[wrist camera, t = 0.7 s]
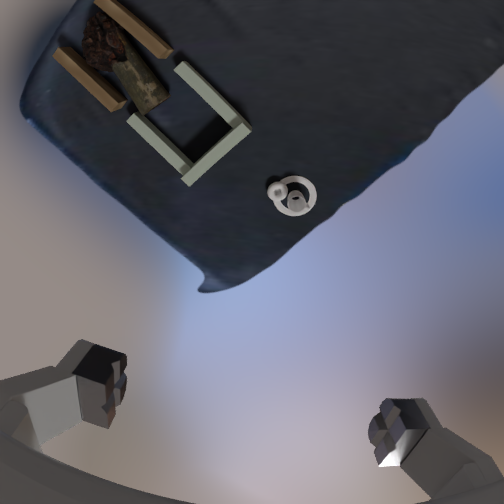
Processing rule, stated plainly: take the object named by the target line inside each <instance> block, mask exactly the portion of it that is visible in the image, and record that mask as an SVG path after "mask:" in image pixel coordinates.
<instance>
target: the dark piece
mask: <svg viewBox="0 0 504 504" xmlns="http://www.w3.org/2000/svg"><path fill="white" fill-rule="evenodd" d="M83 33H84V38H83V40H82V48H83V57H86V63H87V64H89V65H90V66H92V67H95V68H96V69H99V70H101V71H108V72H113V71H114V72H115V74H116V75H117V77H118V78H119V80H120V81H121V83H122V85H123V86H124V88H125V89H126V91H127V92H128V94H129V95H130V97H131V99H132V100H133V102H134V103H135V105H136V107H137V108H138V110H139V111H140V113H141V114H142V116H144V115H145V114H146V113H148V112H149V111H151V110H152V109H154V108H155V107H157V106H158V105H160V104H161V103H162V102H164V101H165V100H167V99H168V98H169V97H170V96H171V95H170V94H169V93H168V92H167V90H166V89H165V88H164V87H163V85H162V84H161V83H160V81H159V80H158V79H157V77H156V76H155V75H154V74H153V72H152V71H151V70H150V68H149V67H148V66H147V65H146V63H145V62H144V61H143V59H142V58H141V56H140V55H139V54H138V52H137V51H136V50H135V48H134V47H133V46H132V44H131V43H130V42H129V40H128V39H127V37H126V36H125V34H124V27H122V26H121V25H120V24H119V23H118V22H116V21H115V20H114V19H113V18H111V17H110V16H109V15H108V14H107V13H106V12H104V13H101V12H98V13H97V14H96V15H95V16H93V17H92V18H89V21H87V27H86V28H85V30H84V32H83Z"/></svg>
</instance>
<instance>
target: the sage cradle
mask: <svg viewBox="0 0 504 504" xmlns="http://www.w3.org/2000/svg"><path fill="white" fill-rule="evenodd" d="M174 71H175V72H176V73H177V74H178V75H180V76H181V77H182V78H183V79H184V80H185V81H186V82H187V83H188V84H189V85H190V86H191V87H192V88H193V89H194V90H195V91H196V92H197V93H198V94H199V95H200V96H201V97H202V98H203V99H204V100H205V101H206V102H207V103H208V104H209V105H210V106H211V107H212V108H213V109H214V110H215V111H216V112H217V113H218V114H219V115H220V116H221V117H222V118H223V119H224V120H225V121H226V122H227V123H228V124H229V125H230V126H231V127H232V128H233V129H231V130H230V131H229V132H228V133H227V134H226V135H225V136H223V137H222V138H221V139H220V140H219V141H218V142H217V143H216V144H215V145H214V146H212V147H211V148H210V149H209V150H208V151H207V152H206V153H205V154H204V155H203V156H202V157H201V158H199V159H198V160H197V161H196V162H195V163H193V162H191V161H190V160H189V159H188V158H187V157H186V156H185V155H184V154H183V153H182V152H181V151H180V150H179V149H178V148H177V147H176V146H175V145H174V144H173V143H172V142H171V141H170V140H169V139H168V138H167V137H166V136H165V135H164V134H163V133H162V132H160V131H159V130H158V129H157V128H156V127H155V126H154V125H153V124H152V123H151V122H150V121H149V120H148V119H147V118H146V117H145V116H142V114H141V113H140V111H137V112H135V113H133V115H132V116H131V117H130V118H129V119H128V120H127V123H128V124H129V125H131V126H132V127H133V128H134V129H135V130H136V131H137V132H138V133H139V134H140V135H141V136H142V137H143V138H144V139H145V140H146V141H147V142H148V143H149V144H150V145H151V146H153V147H154V148H155V149H156V150H157V151H158V152H159V153H160V154H161V155H162V156H163V157H164V158H165V159H166V160H167V161H168V162H169V163H170V164H171V165H172V166H173V167H174V168H175V169H176V170H178V171H179V172H180V173H181V174H182V175H183V176H182V178H181V179H182V180H183V181H184V182H185V183H186V184H187V185H188V186H189V187H190V186H191V185H192V184H193V183H194V182H195V181H196V180H197V179H198V178H199V177H200V176H201V175H203V174H204V173H205V172H206V171H207V170H208V169H209V168H210V167H211V166H212V165H214V164H215V163H216V162H217V161H218V160H219V159H220V158H221V157H223V156H224V155H225V154H226V153H227V152H228V151H229V150H230V149H232V148H233V147H234V146H235V145H236V144H237V143H239V142H240V141H241V140H242V139H243V138H244V137H246V136H247V135H248V134H249V133H250V132H251V130H252V126H251V125H250V124H249V123H248V122H247V121H246V120H245V119H244V118H243V117H242V116H241V115H240V114H239V113H238V112H237V111H236V110H235V109H234V108H233V107H232V106H231V105H230V104H229V103H228V102H227V101H226V100H225V99H224V98H223V97H222V96H221V95H220V94H219V93H218V92H217V91H216V90H215V89H214V88H213V87H212V86H211V85H210V84H209V83H208V82H207V81H206V80H205V79H204V78H203V77H202V76H201V75H200V74H199V73H198V72H197V71H196V70H195V69H194V68H193V67H192V66H191V65H190V64H189V63H187V62H186V61H182V62H181V63H180V64H179V65H178V66H177V67H176V68H175V69H174Z"/></svg>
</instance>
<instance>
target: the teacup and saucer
mask: <svg viewBox="0 0 504 504" xmlns="http://www.w3.org/2000/svg"><path fill="white" fill-rule="evenodd" d="M291 182H299V183H302V184H304V185H305V186H306V187H307V188H308V190H309V193H310V199H309V201H308V203H306V202H305V199H304V197H303V195H302V193H301V192H299V191H297V190H294V191H291V192H290V193H289V195H288V208H289V209H288V208H286V207H284V206H283V205H282V203H281V201H280V200H283V199H284V198H285V197H286V196H287V194H288V188H287V186H286V184H288V183H291ZM280 191H281V192H280ZM267 194H268V196H269V198H270V199H272V200H273V202H274V204H275V206H276V208H277V209H278V210H279V211H280V212H282V213H284V214H286V215H289V216H299V215H302V214H305V213H307V212H308V211H309V210H310V209H311V208H312V207H313V206H314V204H315V201H316V196H317V195H316V189H315V187H314V185H313V184H312V183H311V182H310V181H309V180H308V179H306V178H304V177H301V176H289V177H286V178H284V179H282V180H281V181H280V182H274V183H272V184H271V185H270V186H269V187H268V190H267ZM295 196H299V199H297V200H293V199H292V197H295ZM345 204H346V203H345ZM341 207H342V206H341Z"/></svg>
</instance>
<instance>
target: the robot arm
mask: <svg viewBox="0 0 504 504" xmlns="http://www.w3.org/2000/svg"><path fill="white" fill-rule="evenodd" d="M126 366H127V356H126V354H124V353H121V352H117V351H115V350H112V349H109V348H106V347H103V346H100V345H97V344H94V343H91V342H88V341H85V340H83V339H81V340H78V341H77V342H76V344H75V345H74V346H73V347H72V348H71V349H70V351H69V352H68V353H67V354H66V355H65V356H64V358H63V359H62V360H61V361H60V363H59V364H58V365H57V366H56V367H53V366H49V367H45V368H42V369H39V370H35V371H32V372H29V373H25V374H21V375H18V376H14V377H11V378H8V379H4V380H0V504H194V503H189V502H184V501H179V500H175V499H170V498H166V497H161V496H158V495H154V494H150V493H146V492H142V491H139V490H136V489H132V488H129V487H126V486H123V485H120V484H117V483H114V482H111V481H108V480H105V479H102V478H99V477H97V476H94V475H91V474H89V473H86V472H84V471H81V470H79V469H76V468H74V467H71V466H69V465H67V464H64V463H62V462H60V461H58V460H56V459H54V458H51V457H49V456H47V455H45V454H43V452H42V449H41V447H40V445H41V444H43V443H45V442H46V441H49V440H50V439H52V438H54V437H56V436H58V435H59V434H61V433H63V432H65V431H66V430H68V429H70V428H72V427H74V426H75V425H77V424H79V423H81V422H82V420H83V421H86V422H89V423H92V424H95V425H98V426H101V427H104V428H107V429H109V427H110V425H111V423H112V420H113V418H114V417H115V414H116V413H115V412H116V411H115V407H116V406H118V405H120V404H121V402H122V400H123V397H124V394H125V391H126V384H127V376H126V374H125V373H124V370H125V368H126ZM379 408H380V413H378V414H377V415H376V416H374V417H373V419H372V420H371V422H370V424H369V429H368V436H369V440H370V443H372V444H373V445H374V446H375V447H376V448H375V451H374V454H375V457H376V460H377V462H378V465H379V466H396V465H397V466H398V465H400V467H401V468H402V469H403V470H404V471H405V472H406V473H407V474H408V475H409V476H410V477H411V478H412V479H413V480H414V481H415V482H416V483H417V484H418V485H419V486H420V487H421V488H422V489H423V490H424V491H425V492H426V493H427V494H428V495H429V496H430V497H431V499H430V500H429V501H426V502H421V503H417V504H504V477H503V475H502V474H501V472H500V470H499V469H498V467H497V465H496V464H495V462H494V460H493V459H492V457H490V456H489V455H487V454H486V453H484V452H483V451H481V450H480V449H478V448H476V447H475V446H473V445H472V444H470V443H468V442H467V441H466V440H464V439H463V438H461V437H459V436H458V435H456V434H455V433H453V432H452V431H450V430H449V429H447V428H443V427H442V425H441V424H440V422H439V421H438V419H437V418H436V416H435V414H434V413H433V411H432V409H431V408H430V406H429V404H428V403H427V401H426V400H425V399H423V398H416V399H415V398H414V399H412V398H411V399H392V398H386V399H385V400H384V401H383V402H382V404H381V405H380V407H379Z"/></svg>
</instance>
